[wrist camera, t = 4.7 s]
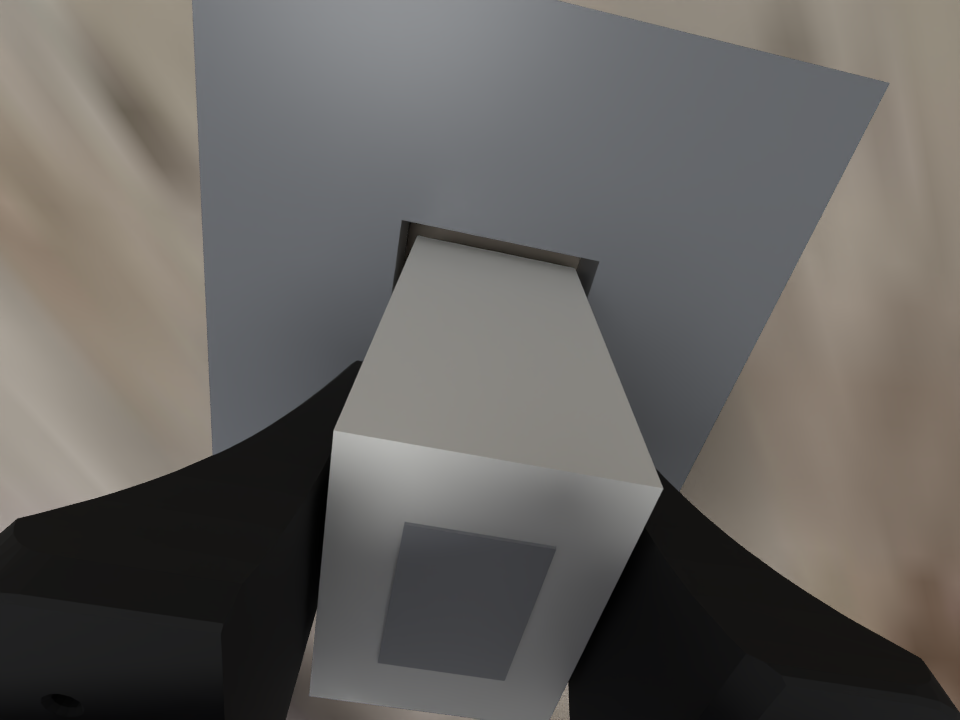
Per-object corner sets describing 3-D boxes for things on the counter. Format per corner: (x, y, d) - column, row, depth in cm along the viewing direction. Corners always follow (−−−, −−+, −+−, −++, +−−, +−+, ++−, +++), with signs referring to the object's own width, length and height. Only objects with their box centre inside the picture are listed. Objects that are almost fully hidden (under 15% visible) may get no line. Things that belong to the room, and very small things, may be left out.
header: (241, 483, 19) (215, 525, 18) (233, -69, 12) (187, -92, 10) (616, 545, 20) (627, 591, 19) (835, 80, 13) (889, 83, 11)
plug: (390, 415, 16) (307, 699, 9) (417, 235, 13) (332, 432, 6) (522, 439, 16) (545, 731, 9) (574, 268, 14) (664, 491, 6)
